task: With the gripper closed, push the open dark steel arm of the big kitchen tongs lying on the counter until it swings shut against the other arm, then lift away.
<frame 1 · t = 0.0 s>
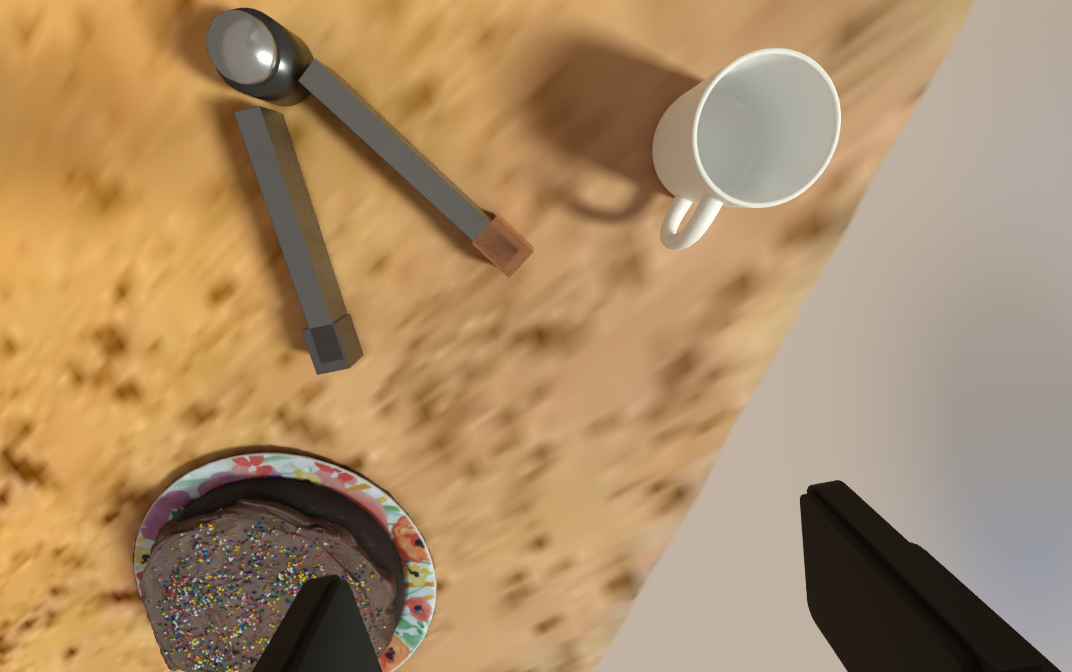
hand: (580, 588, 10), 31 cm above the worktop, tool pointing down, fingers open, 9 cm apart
tong arm: (383, 159, 34), point 3 cm above the worktop, hinge at 35.0°
cup: (690, 171, 38), on the worktop
chocolate cake: (295, 573, 48), on the worktop
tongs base: (280, 68, 35), on the worktop
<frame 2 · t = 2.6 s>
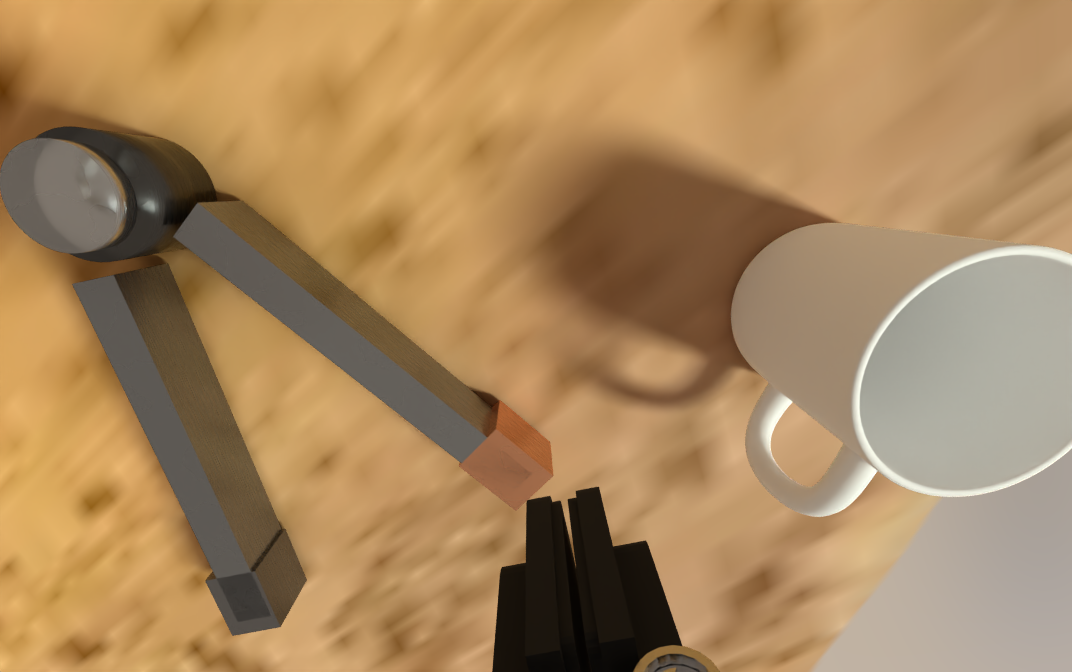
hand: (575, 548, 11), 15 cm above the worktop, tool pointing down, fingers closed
tong arm: (320, 344, 22), point 3 cm above the worktop, hinge at 35.0°
cup: (784, 335, 25), on the worktop
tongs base: (161, 195, 23), on the worktop
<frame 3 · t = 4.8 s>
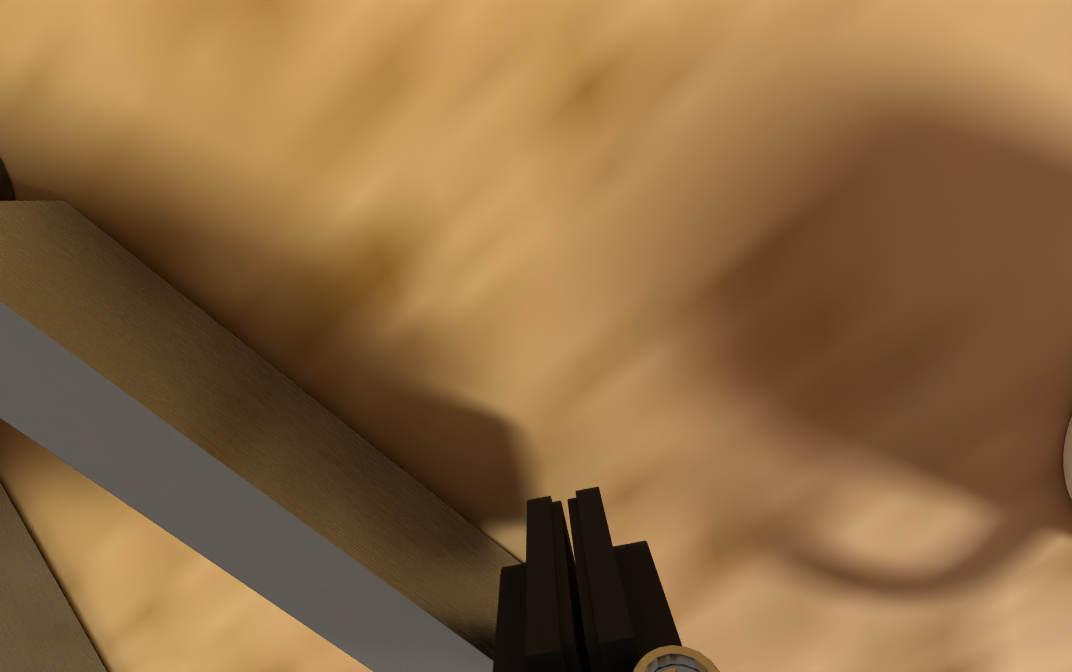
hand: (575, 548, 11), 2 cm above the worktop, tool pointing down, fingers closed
tong arm: (221, 529, 10), point 3 cm above the worktop, hinge at 34.7°, touching gripper
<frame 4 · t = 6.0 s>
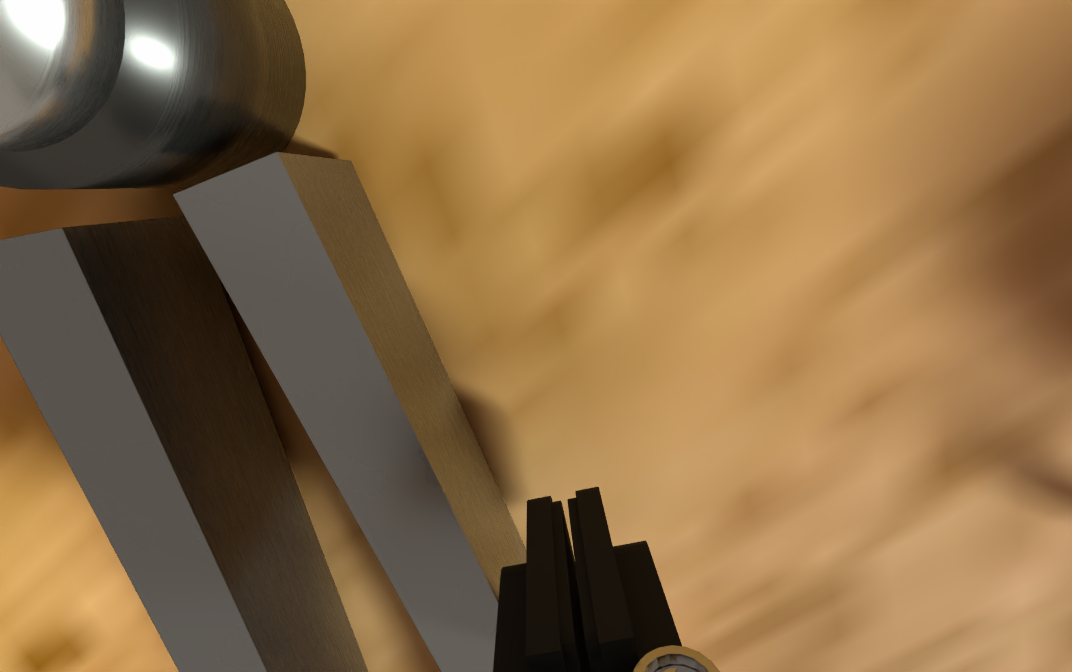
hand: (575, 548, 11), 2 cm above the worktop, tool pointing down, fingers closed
tong arm: (374, 519, 10), point 3 cm above the worktop, hinge at 9.5°, touching gripper
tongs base: (183, 61, 10), on the worktop
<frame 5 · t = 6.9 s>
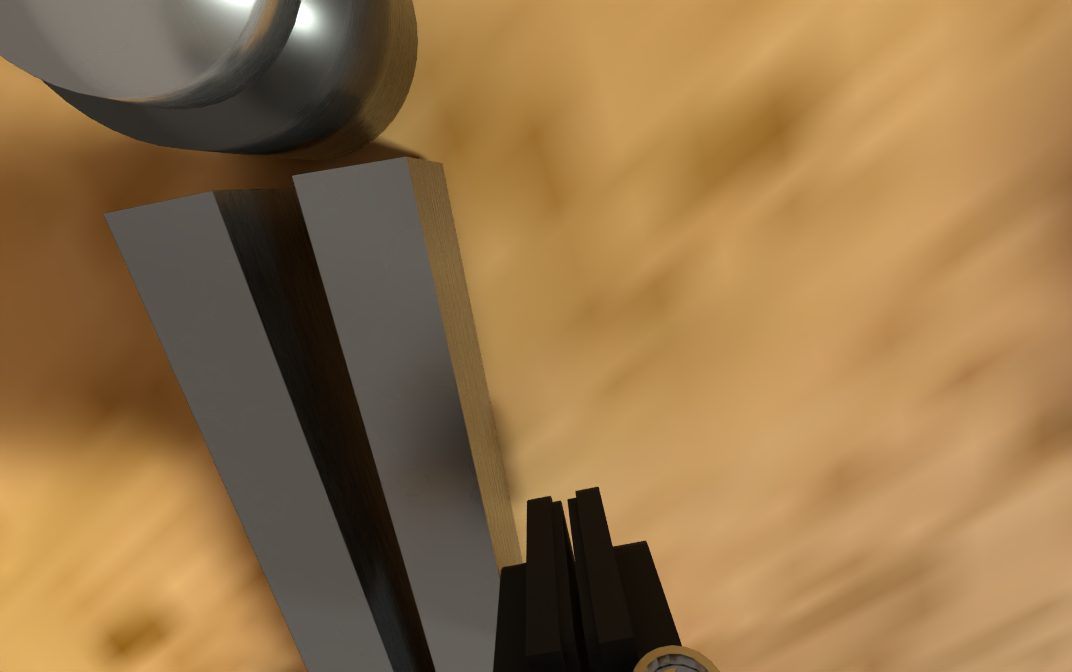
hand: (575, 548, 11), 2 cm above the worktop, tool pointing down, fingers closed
tong arm: (401, 516, 10), point 3 cm above the worktop, hinge at -2.2°, touching gripper
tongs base: (295, 31, 10), on the worktop
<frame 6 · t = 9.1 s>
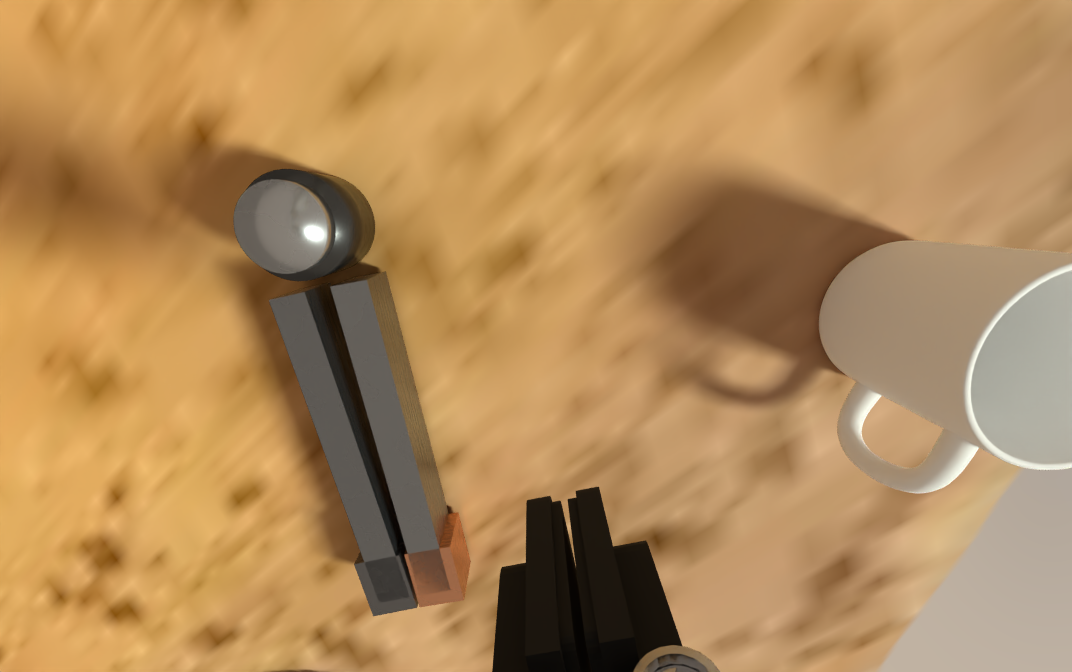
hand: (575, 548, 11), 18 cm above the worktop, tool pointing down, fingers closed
tong arm: (370, 412, 26), point 3 cm above the worktop, hinge at -2.2°
cup: (864, 340, 29), on the worktop
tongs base: (328, 223, 26), on the worktop
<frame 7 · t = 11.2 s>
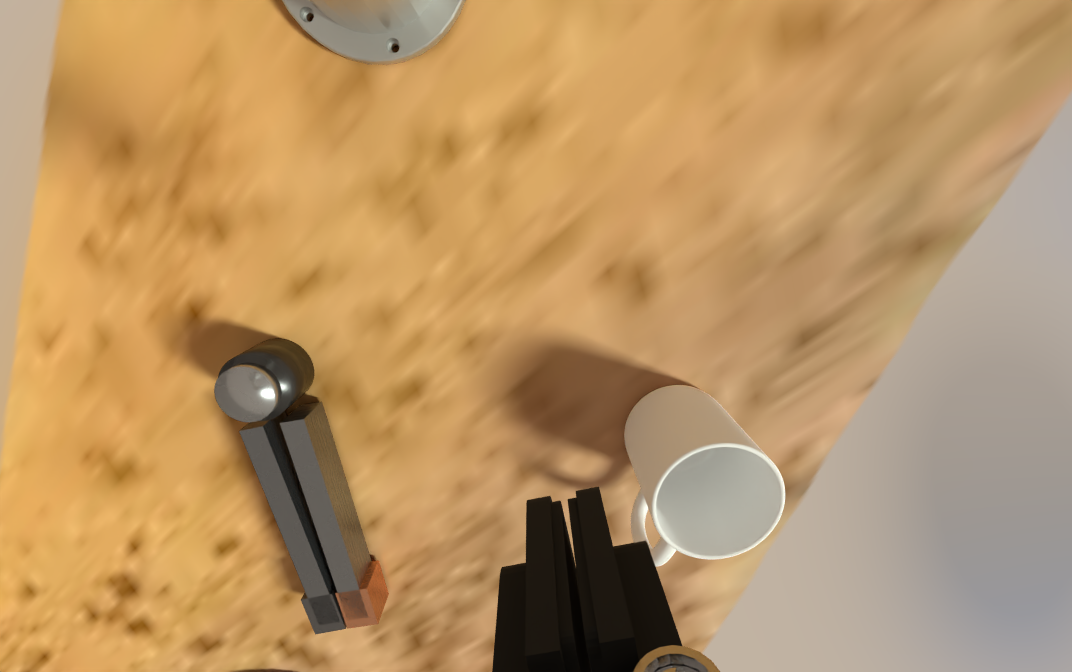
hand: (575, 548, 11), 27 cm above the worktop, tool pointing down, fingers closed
tong arm: (310, 498, 38), point 3 cm above the worktop, hinge at -2.2°
cup: (660, 446, 41), on the worktop
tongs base: (281, 369, 38), on the worktop
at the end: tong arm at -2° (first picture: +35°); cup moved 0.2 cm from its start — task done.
